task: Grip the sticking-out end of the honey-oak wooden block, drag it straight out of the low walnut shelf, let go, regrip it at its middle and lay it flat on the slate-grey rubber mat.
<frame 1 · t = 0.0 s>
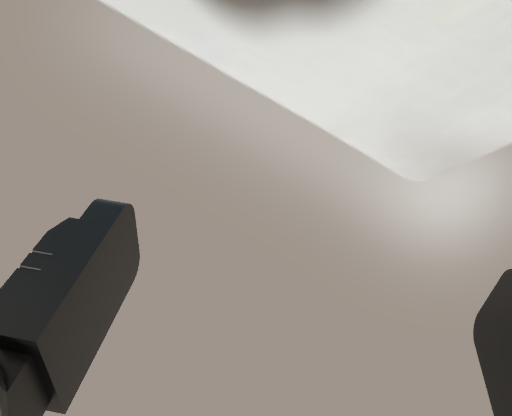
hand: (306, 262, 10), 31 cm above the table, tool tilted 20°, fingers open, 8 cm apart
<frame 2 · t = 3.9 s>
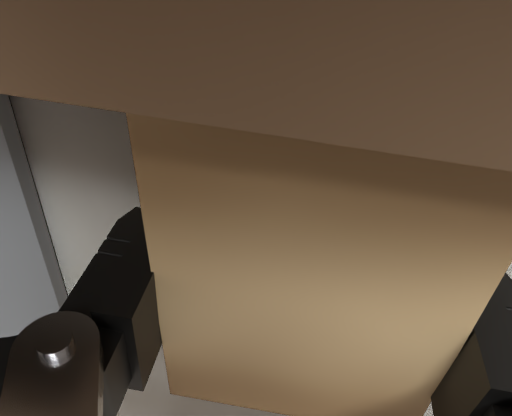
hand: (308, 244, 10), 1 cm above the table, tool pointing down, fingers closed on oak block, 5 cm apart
oak block: (337, 55, 8), on the table, touching gripper
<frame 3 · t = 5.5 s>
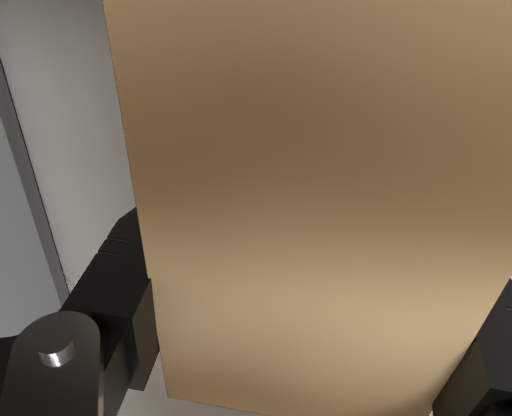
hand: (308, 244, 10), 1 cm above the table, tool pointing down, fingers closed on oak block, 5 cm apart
oak block: (339, 51, 8), on the table, touching gripper
when the fingers open (1 cm above the table, at t = 7.2 s): oak block stays where it is, on the table.
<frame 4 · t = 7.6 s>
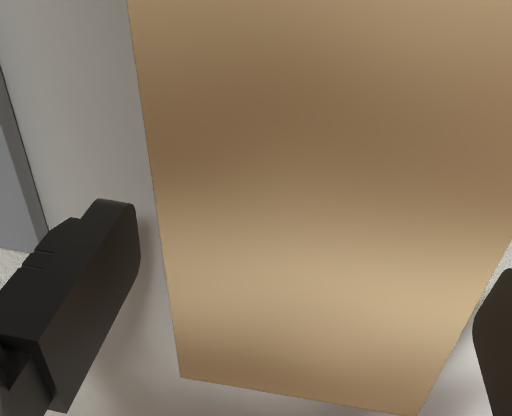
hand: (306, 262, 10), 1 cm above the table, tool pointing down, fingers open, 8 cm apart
oak block: (342, 43, 8), on the table
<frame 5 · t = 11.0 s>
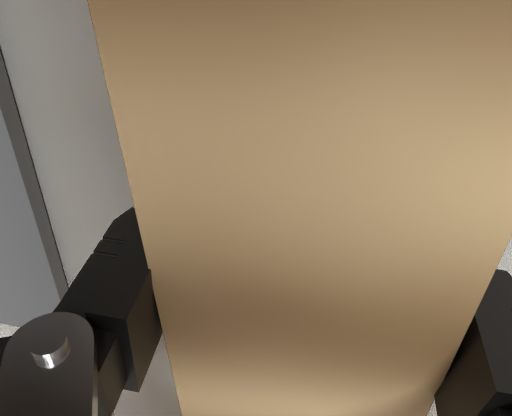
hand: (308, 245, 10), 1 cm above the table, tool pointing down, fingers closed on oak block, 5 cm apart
oak block: (312, 210, 11), on the table, touching gripper
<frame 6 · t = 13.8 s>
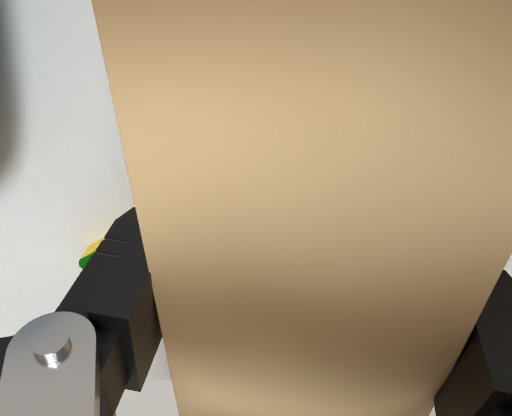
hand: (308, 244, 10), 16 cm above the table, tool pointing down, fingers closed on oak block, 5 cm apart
oak block: (313, 211, 11), point 15 cm above the table, touching gripper
when the fingers open (3 cm above the table, at t = 16.8 s): oak block drops 1 cm, resting on slate mat.
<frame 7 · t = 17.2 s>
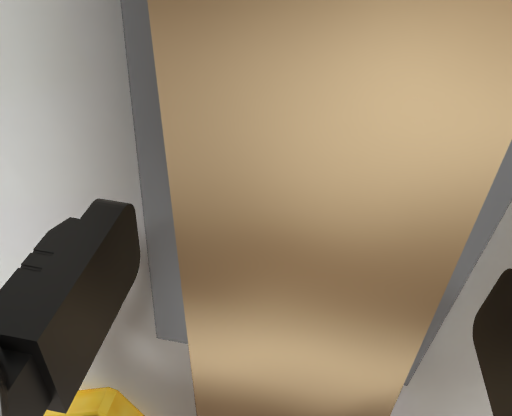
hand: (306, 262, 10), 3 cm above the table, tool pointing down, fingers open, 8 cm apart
oak block: (315, 178, 12), resting on slate mat
slate mat: (314, 177, 12), on the table
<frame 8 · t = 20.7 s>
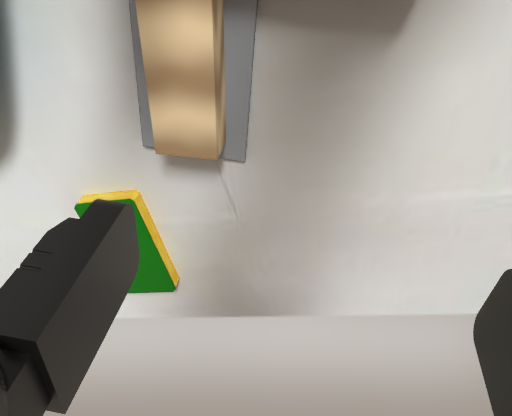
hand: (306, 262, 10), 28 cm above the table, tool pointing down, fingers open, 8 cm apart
oak block: (192, 62, 36), resting on slate mat
slate mat: (193, 64, 37), on the table
dish sponge: (135, 236, 52), on the table
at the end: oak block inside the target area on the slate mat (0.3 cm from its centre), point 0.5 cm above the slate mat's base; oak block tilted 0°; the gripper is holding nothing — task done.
